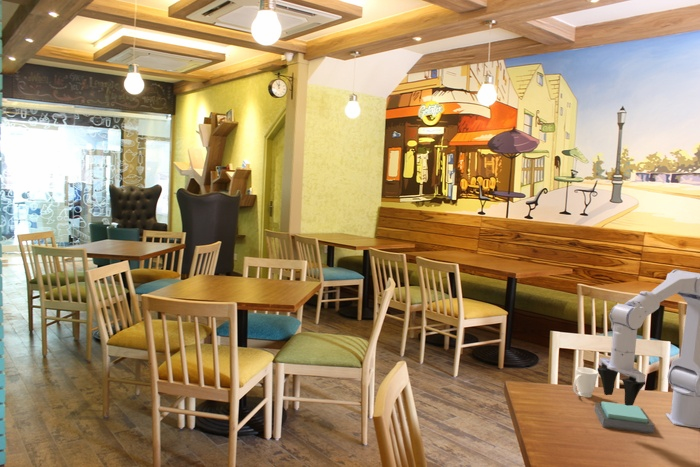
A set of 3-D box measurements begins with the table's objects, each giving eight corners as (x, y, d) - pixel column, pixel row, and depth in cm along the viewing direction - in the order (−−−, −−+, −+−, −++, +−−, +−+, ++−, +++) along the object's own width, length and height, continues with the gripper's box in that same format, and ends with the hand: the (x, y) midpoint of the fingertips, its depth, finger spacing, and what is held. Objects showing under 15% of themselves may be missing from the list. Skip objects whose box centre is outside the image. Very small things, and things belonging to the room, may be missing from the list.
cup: (600, 396, 184) (603, 372, 183) (583, 402, 178) (585, 376, 177) (580, 389, 189) (583, 365, 189) (563, 394, 183) (565, 370, 183)
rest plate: (638, 411, 167) (638, 406, 167) (647, 424, 157) (647, 419, 157) (601, 406, 169) (601, 401, 169) (608, 419, 159) (608, 413, 159)
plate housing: (641, 416, 168) (642, 408, 168) (653, 434, 156) (654, 425, 155) (594, 410, 171) (595, 402, 171) (602, 427, 158) (603, 418, 158)
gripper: (591, 342, 158) (587, 390, 159) (631, 358, 145) (626, 410, 146) (613, 342, 160) (608, 389, 162) (653, 357, 147) (648, 409, 148)
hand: (618, 399), depth 154 cm, fingers open, 7 cm apart
